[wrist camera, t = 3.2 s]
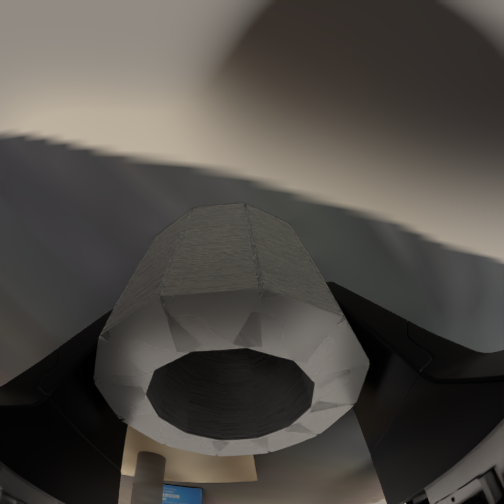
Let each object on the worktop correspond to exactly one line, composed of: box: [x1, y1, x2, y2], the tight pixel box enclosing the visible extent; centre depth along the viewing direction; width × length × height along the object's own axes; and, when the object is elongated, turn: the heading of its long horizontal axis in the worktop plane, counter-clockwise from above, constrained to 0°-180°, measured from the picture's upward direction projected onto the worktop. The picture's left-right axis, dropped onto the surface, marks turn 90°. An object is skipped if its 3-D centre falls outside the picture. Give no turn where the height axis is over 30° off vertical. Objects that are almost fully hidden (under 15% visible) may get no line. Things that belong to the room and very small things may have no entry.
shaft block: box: [121, 425, 258, 504], centre depth 12 cm, size 14×12×6 cm
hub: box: [94, 203, 370, 456], centre depth 8 cm, size 6×6×5 cm
